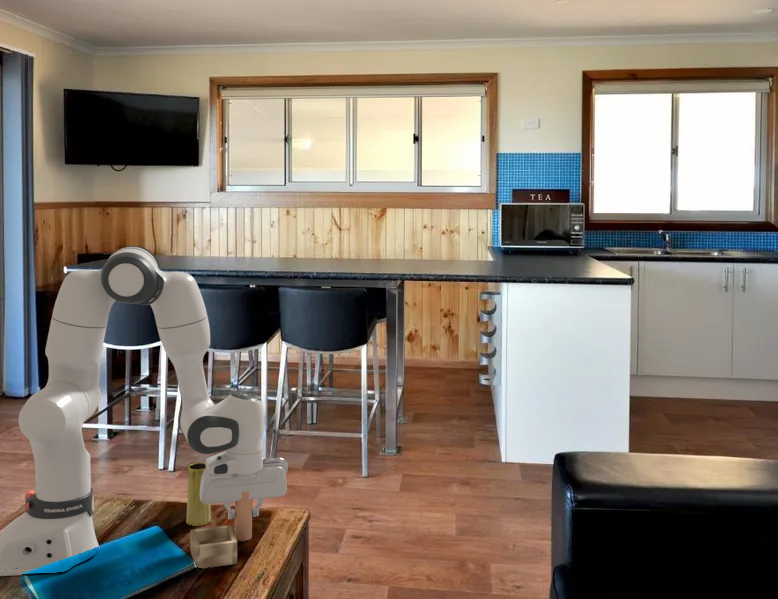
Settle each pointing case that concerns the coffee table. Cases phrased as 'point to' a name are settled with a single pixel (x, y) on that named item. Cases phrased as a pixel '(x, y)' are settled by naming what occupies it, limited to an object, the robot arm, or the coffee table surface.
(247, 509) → the peg
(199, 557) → the socket block
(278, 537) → the coffee table surface
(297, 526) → the coffee table surface
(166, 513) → the coffee table surface
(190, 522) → the vase
